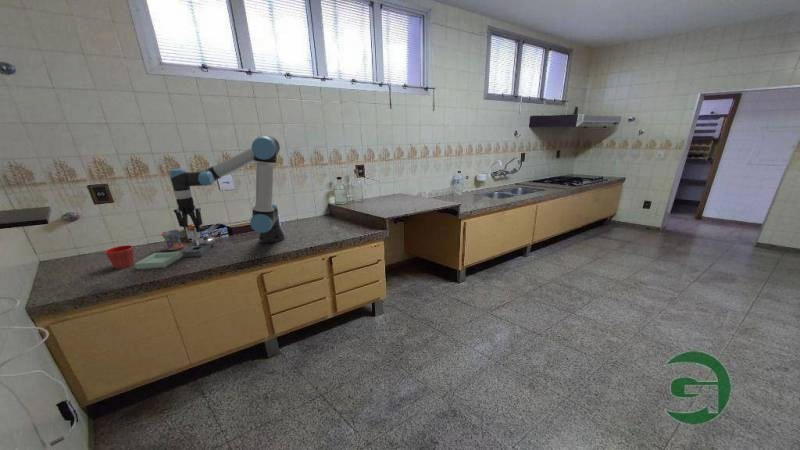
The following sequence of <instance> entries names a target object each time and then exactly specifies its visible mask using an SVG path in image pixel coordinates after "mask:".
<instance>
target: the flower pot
mask: <svg viewBox="0 0 800 450" xmlns="http://www.w3.org/2000/svg"><path fill="white" fill-rule="evenodd" d="M104 253H105V255H106V257H107V258H108V259H109V261H110V263H111V265H112V266H113V268H115V269H118V270H119V269H124V268H125V269H126V268H128V267H129V268H130V267H131V266H133V265H135V259H134V258H135V257H134V255H135V254H134V246H133V245H128V244H127V245H121V246H119V245H118V246H116V247H112V248H109V249H107V250H105V251H104Z"/></svg>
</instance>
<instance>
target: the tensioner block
mask: <svg viewBox="0 0 800 450" xmlns="http://www.w3.org/2000/svg"><path fill="white" fill-rule="evenodd" d="M197 239H198V243H199V245H197V246H194V245H191V246H190V247H189V248H187V249H185V250H183V251H182V252H181V253H182V256H183V258H186V257H188V258H191V257H192V258H193V257H203V256H204V255H205V254H207V253H209V252H210V251H212V246H213V245H212V244H213V243H215V242H216V239H215V237H214V236H208V235H204V236H203V237H199V238H197Z"/></svg>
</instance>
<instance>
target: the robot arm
mask: <svg viewBox="0 0 800 450" xmlns="http://www.w3.org/2000/svg"><path fill="white" fill-rule="evenodd" d="M280 148H281V147H280V143H279V141H278V140H277V139H276V138H275V137H273V136H270V135H269V136H267V135H265V136H264V135H261V136H258V137H257V138H255V139H254V140H253V142H252V143H251V147H250V148H248V149H246V150H243V151H242V152H240V153H237V154H236V155H233V156H231V157H229V158H227V159H225V160H222V161H221V162H218V163H217V164H215V165H213V166H210V167H208V168H206V169H203V170H200V171H192V172H191V171H189V172H187V170H186V169H185V168H173V169H170V170H169V171H168V172H169V179H170V182H171V184H172V189H173V193H174V197H175V201H176V205H177V206H178V207H177V208H176V209H174V210H173V212H174V213H175V216H176V219H177V223H178V225H179V227H183V231H184V233H185V234H186V236H187V239H188V240H189V239H192V238H191V234H190V230H188V228H187V226H188V225H189V221H188V218H189V217H190V219H191V221H192V223H193V224H194V226H195V227H194V231H195V235H196V238H197V239H200V238H202V237H201V233H200V232H201V228H200V226H202V225H203V219H202V213H201V209H202V208H201V207H196V205H195V201H194V198H193V197H192V196H193V194H192V191H191V189H192V188H191V187H200V186H201V187H203V186H205V187H206V186H211V185H213V184H214V182H216V181H217V180H220V179H221V178H223V177H225V176H228V175H230V174H232V173H235V172H236V171H237V170H240V169H242V168H245V167H246V166H248V165H251V164H253V163H255V164H256V167H255V168H256V172H255V173H256V175H255V205H254V207H252V214H251V215H252V217H251V218H250V221H249V224H250V227H251V228H252V230H253V231H255V232H257V233H259V236H258V239H259V243H261V244H275V243H278V242H281V241H283V240H284V239H285V237H286V236H285V233H284V231H283V230H282V228H281V224H280V217H279V216H280V215H279V209H278V205H276V204H273V185H274V184H273V183H274V181H273V180H274V166H275V164H277V159H278V158H277V156H278V154H279V152H280V150H281V149H280ZM188 216H189V217H188Z"/></svg>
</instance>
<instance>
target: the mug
mask: <svg viewBox="0 0 800 450" xmlns="http://www.w3.org/2000/svg"><path fill="white" fill-rule="evenodd" d="M180 233H181V230H180V229H172V230H166V231H163V232H161V233H160V234H161V236H162V237H163V239H164V240H165V242H166V243H165V244H166V251H177V250H180V249H182V248H183V247H184V244H183V243H182V241H181V239H180V236H181V235H180Z"/></svg>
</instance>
